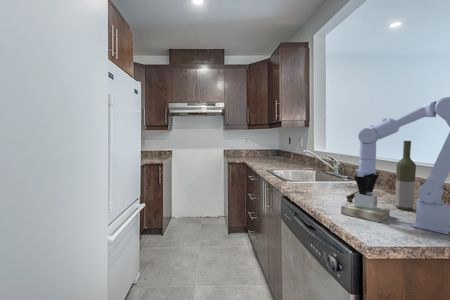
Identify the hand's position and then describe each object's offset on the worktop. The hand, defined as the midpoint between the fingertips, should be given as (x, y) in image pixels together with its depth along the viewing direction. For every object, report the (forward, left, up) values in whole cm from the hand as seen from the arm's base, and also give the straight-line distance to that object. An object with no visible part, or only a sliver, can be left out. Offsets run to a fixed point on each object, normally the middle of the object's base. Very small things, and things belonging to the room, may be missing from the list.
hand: (366, 193), depth 102 cm
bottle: (-8, -24, -9) cm, 27 cm away
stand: (0, 0, -9) cm, 9 cm away
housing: (0, 0, -5) cm, 5 cm away
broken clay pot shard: (+6, -13, -9) cm, 17 cm away
